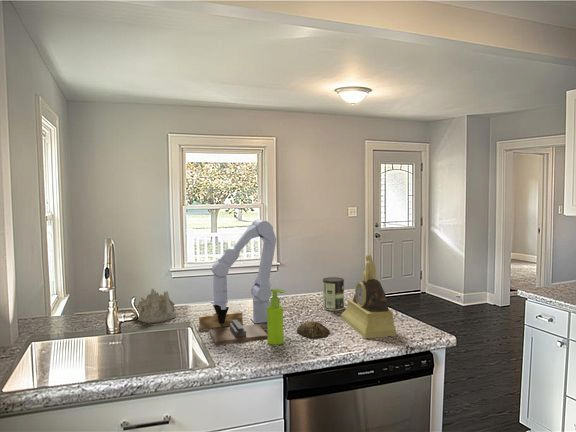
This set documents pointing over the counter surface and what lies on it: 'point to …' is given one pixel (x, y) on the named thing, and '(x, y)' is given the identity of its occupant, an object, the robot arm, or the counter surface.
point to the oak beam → (212, 321)
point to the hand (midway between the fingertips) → (221, 322)
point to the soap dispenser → (275, 319)
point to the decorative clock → (369, 307)
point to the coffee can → (333, 293)
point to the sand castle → (156, 308)
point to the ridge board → (231, 339)
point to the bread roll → (313, 330)
